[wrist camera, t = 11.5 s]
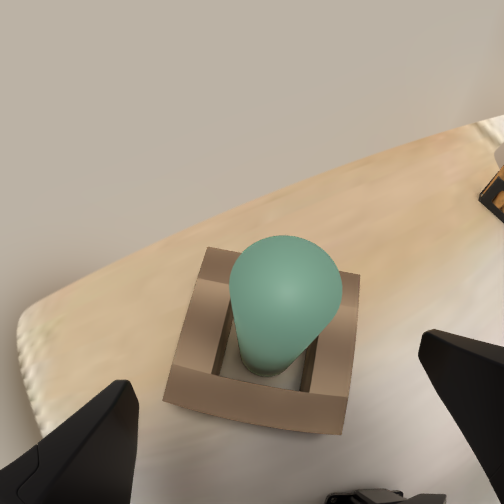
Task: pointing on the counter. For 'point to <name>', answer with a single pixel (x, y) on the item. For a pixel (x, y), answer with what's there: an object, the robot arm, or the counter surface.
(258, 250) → the peg
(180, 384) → the socket block
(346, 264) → the counter surface
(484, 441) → the robot arm
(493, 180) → the ammunition clip
